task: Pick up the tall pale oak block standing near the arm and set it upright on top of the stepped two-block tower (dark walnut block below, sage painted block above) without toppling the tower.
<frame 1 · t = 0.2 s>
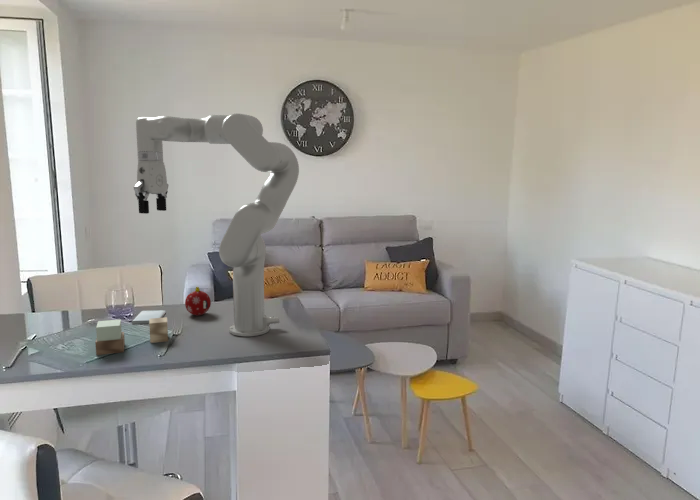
hand: (153, 211, 174), 37 cm above the table, tool pointing down, fingers open, 9 cm apart
tower top: (109, 336, 154), point 4 cm above the table, touching tower bottom
christmas ornament: (198, 315, 189), on the table
tower bottom: (111, 350, 155), on the table, touching tower top
oak block: (159, 339, 164), on the table
hard drive: (149, 320, 185), on the table
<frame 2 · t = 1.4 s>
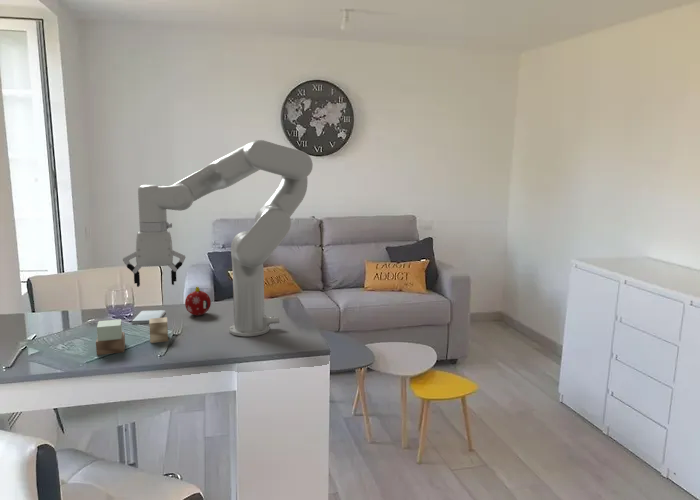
hand: (155, 284, 161), 17 cm above the table, tool pointing down, fingers open, 9 cm apart
tower top: (110, 336, 154), point 4 cm above the table
tower bottom: (111, 350, 155), on the table
everything else where it was.
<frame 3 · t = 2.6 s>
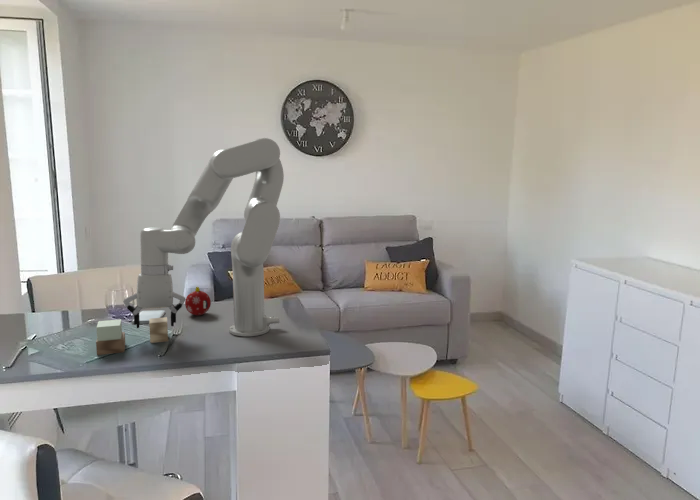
hand: (155, 325, 163), 4 cm above the table, tool pointing down, fingers open, 9 cm apart
tower top: (110, 336, 154), point 4 cm above the table, touching tower bottom
tower bottom: (111, 350, 155), on the table, touching tower top
everything else where it was.
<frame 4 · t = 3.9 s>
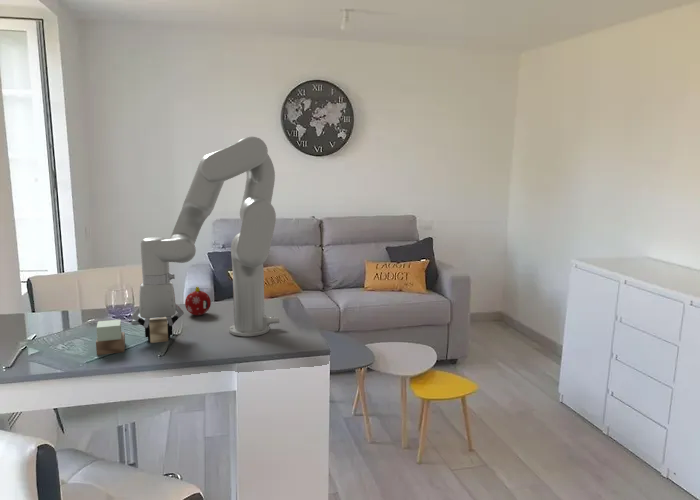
hand: (159, 337, 163), 0 cm above the table, tool pointing down, fingers closed on oak block, 5 cm apart
oak block: (159, 339, 164), on the table, touching gripper
everything else where it was.
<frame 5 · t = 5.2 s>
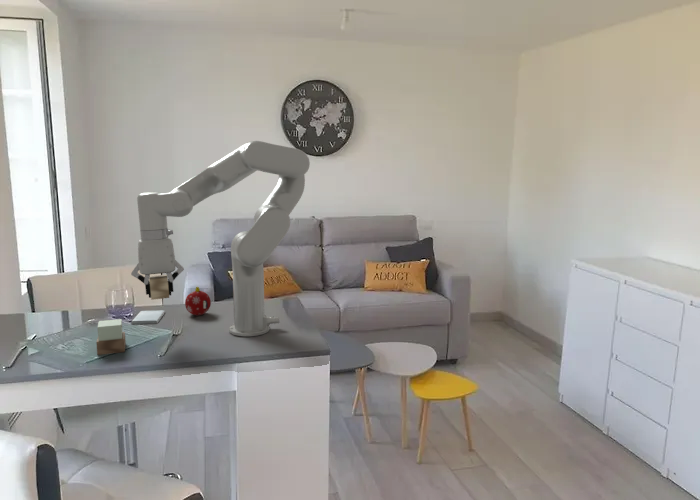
hand: (160, 294, 162), 14 cm above the table, tool pointing down, fingers closed on oak block, 5 cm apart
oak block: (160, 296, 162), point 13 cm above the table, touching gripper
everything else where it was.
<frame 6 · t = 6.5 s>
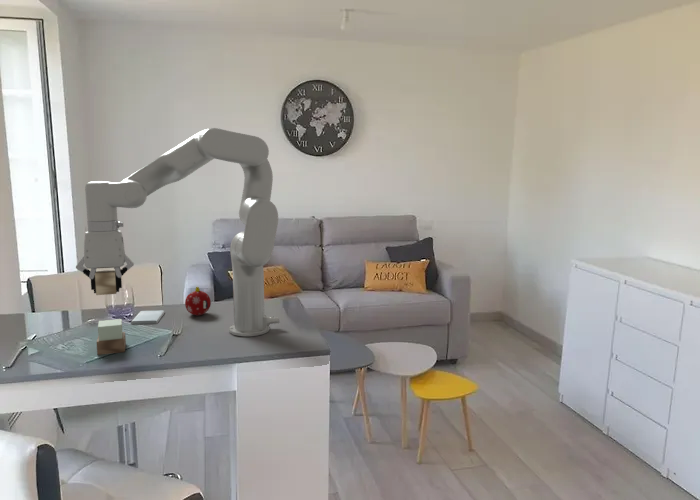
hand: (106, 290, 152), 17 cm above the table, tool pointing down, fingers closed on oak block, 5 cm apart
oak block: (107, 292, 152), point 17 cm above the table, touching gripper
everything else where it was.
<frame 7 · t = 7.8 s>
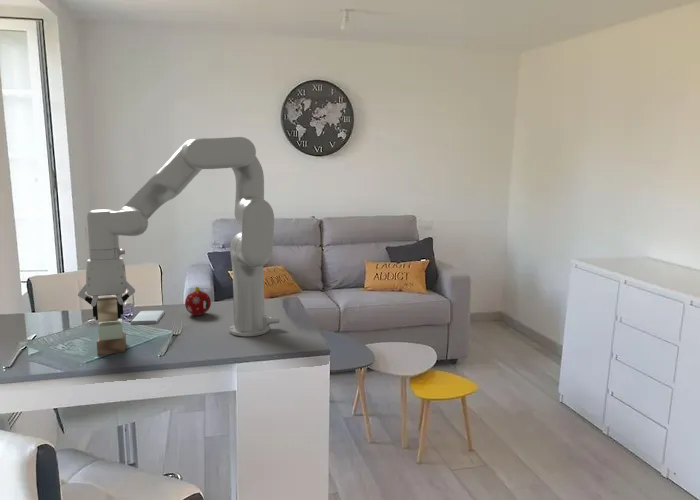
hand: (108, 317, 153), 9 cm above the table, tool pointing down, fingers closed on oak block, 5 cm apart
oak block: (108, 319, 153), point 9 cm above the table, touching gripper
everything else where it was.
when the fingers open (9 cm above the table, at t = 8.6 s): oak block stays where it is, resting on tower top.
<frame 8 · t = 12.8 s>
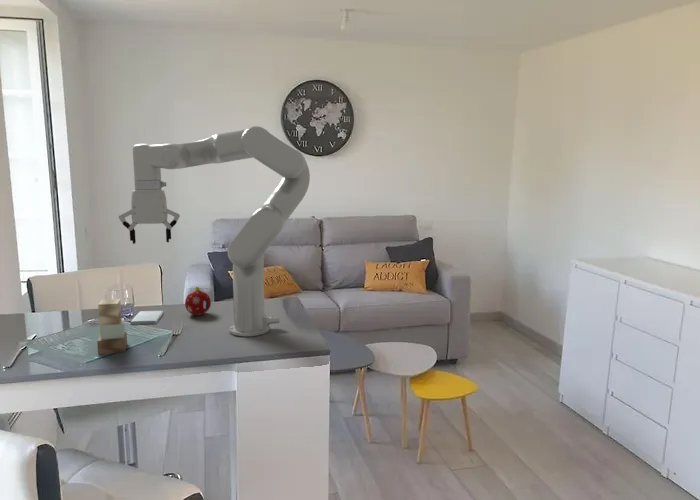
hand: (151, 242, 166), 28 cm above the table, tool pointing down, fingers open, 9 cm apart
tower top: (113, 335, 155), point 4 cm above the table, touching oak block, tower bottom
oak block: (110, 322, 154), point 8 cm above the table, touching tower top
everything else where it was.
at the end: oak block 0.5 cm off-centre on the tower top, point 4.0 cm above the tower top's base; oak block tilted 0°; tower top point 3.8 cm above the table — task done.
